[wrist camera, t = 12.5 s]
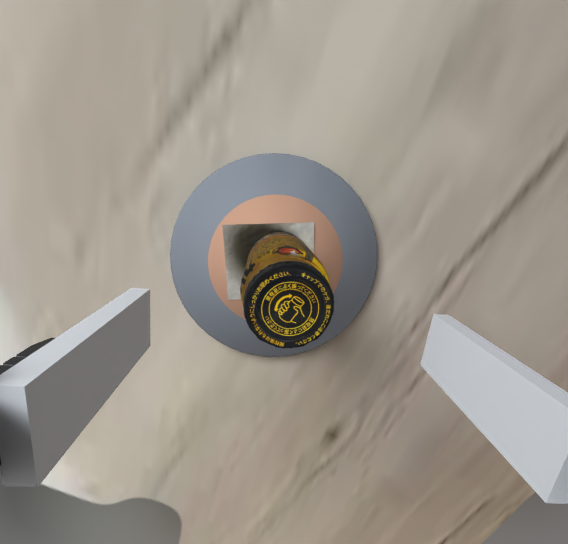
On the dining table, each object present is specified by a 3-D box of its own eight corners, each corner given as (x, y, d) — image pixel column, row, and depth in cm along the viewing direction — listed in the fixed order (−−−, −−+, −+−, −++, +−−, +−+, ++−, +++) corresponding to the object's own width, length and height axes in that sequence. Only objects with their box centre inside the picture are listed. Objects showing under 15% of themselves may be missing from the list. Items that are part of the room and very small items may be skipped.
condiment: (313, 295, 28) (347, 361, 17) (228, 299, 28) (202, 369, 16) (313, 221, 27) (351, 238, 15) (222, 224, 26) (189, 243, 14)
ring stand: (176, 141, 25) (171, 138, 24) (390, 169, 27) (396, 168, 26) (172, 344, 30) (168, 350, 29) (354, 356, 32) (358, 362, 31)
